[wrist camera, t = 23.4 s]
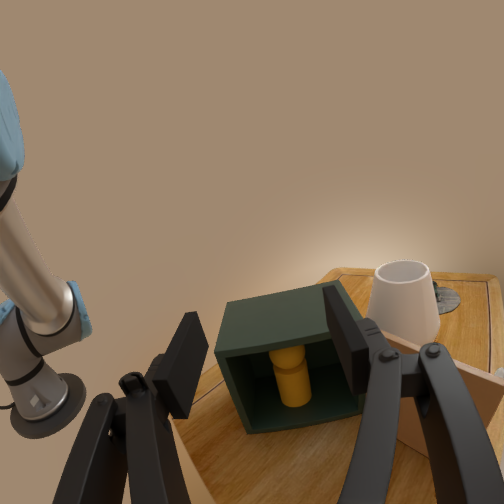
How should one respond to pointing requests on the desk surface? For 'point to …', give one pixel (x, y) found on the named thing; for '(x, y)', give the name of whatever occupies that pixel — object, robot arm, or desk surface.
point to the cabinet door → (477, 382)
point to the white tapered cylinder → (405, 301)
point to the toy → (292, 375)
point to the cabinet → (279, 337)
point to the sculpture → (445, 298)
